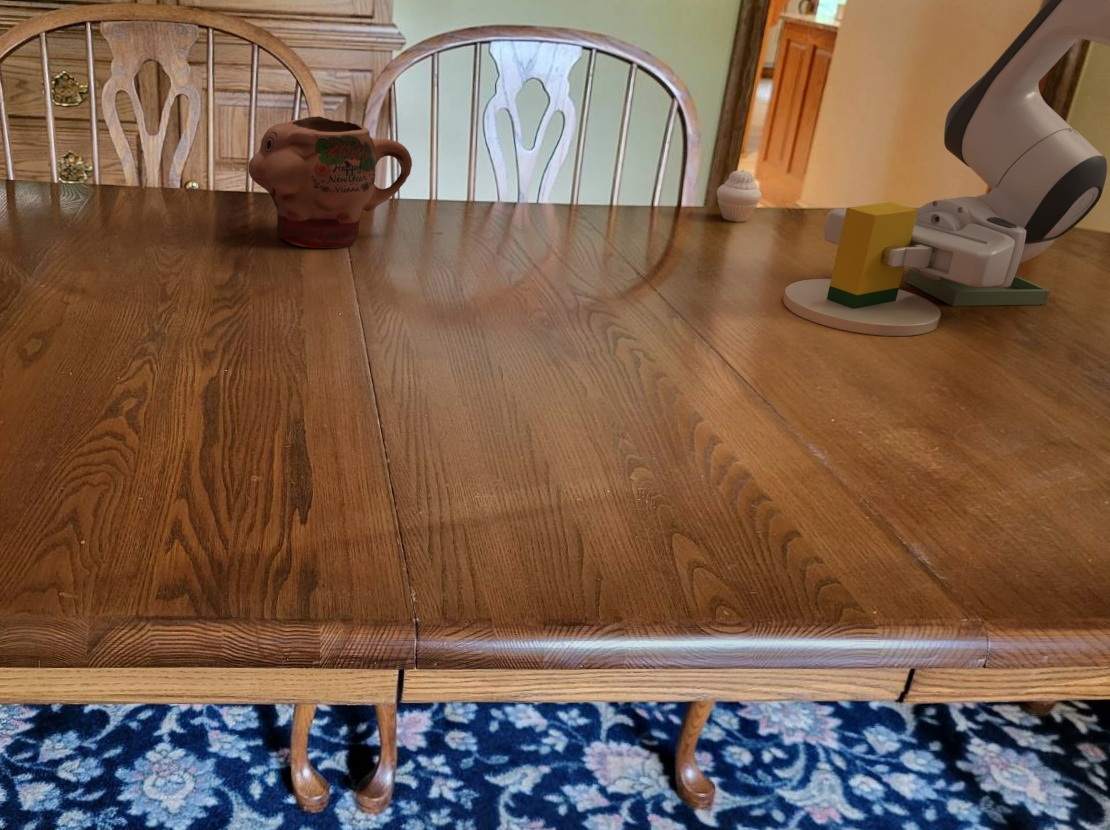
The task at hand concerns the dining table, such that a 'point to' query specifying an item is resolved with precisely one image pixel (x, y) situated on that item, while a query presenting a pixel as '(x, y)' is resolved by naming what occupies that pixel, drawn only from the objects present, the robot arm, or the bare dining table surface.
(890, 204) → the sponge
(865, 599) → the dining table surface
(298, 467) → the dining table surface
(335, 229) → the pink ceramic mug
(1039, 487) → the dining table surface
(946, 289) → the dish
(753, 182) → the muffin
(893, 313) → the plate
